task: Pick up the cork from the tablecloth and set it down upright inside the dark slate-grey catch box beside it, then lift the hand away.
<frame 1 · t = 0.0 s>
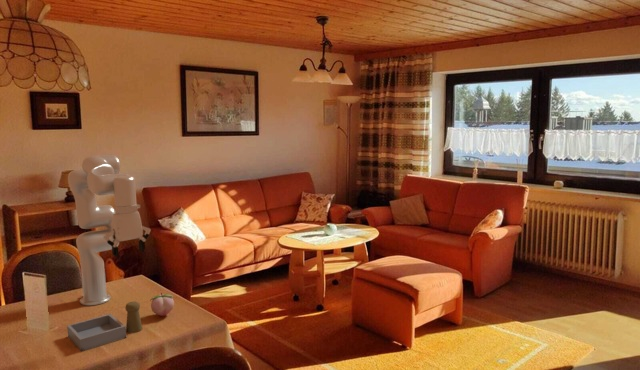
hand: (129, 254, 188), 31 cm above the table, tool pointing down, fingers open, 9 cm apart
cork: (134, 330, 196), on the table
decorative fruit: (162, 316, 209), on the table
catch box: (97, 337, 190), on the table
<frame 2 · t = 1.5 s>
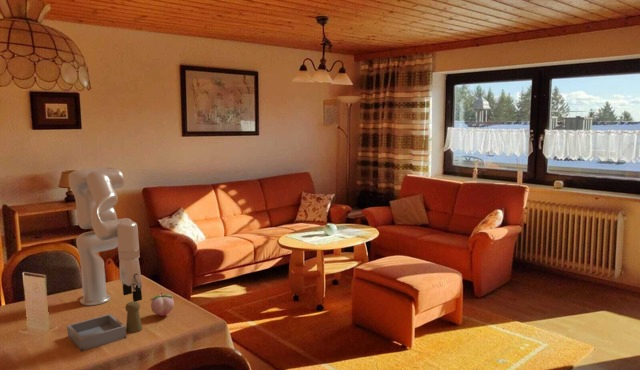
hand: (132, 297, 194), 13 cm above the table, tool pointing down, fingers open, 9 cm apart
nothing on the table moved.
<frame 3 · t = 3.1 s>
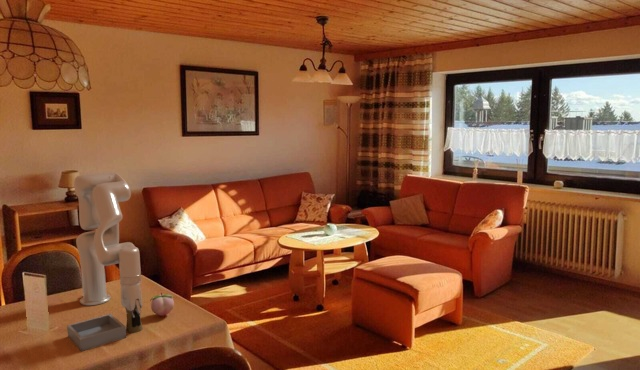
hand: (133, 323, 196), 2 cm above the table, tool pointing down, fingers closed on cork, 4 cm apart
cork: (134, 330, 196), on the table, touching gripper
everything else where it was.
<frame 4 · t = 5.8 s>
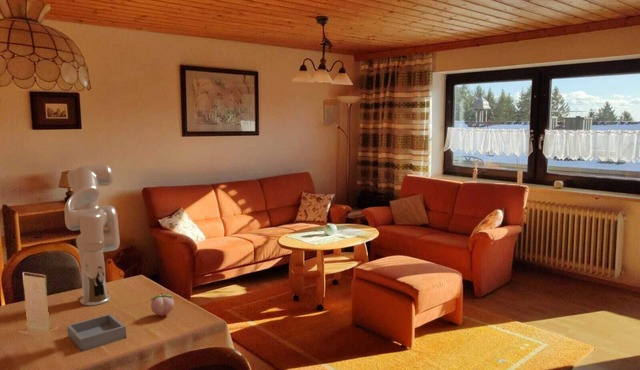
hand: (97, 293, 188), 17 cm above the table, tool pointing down, fingers closed on cork, 4 cm apart
cork: (97, 299, 188), point 15 cm above the table, touching gripper
everything else where it was.
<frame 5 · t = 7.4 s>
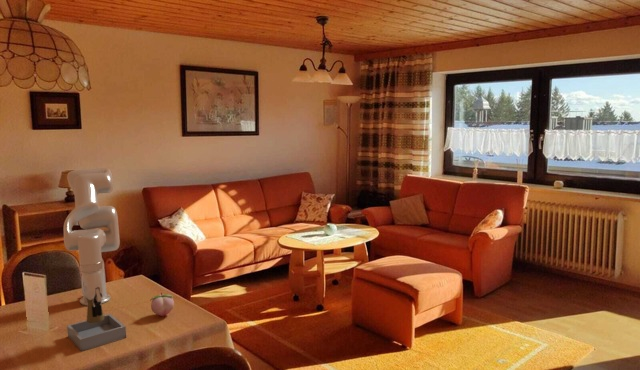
hand: (95, 313, 188), 9 cm above the table, tool pointing down, fingers closed on cork, 4 cm apart
cork: (95, 320, 189), point 7 cm above the table, touching gripper
everything else where it was.
when the fingers open (5 cm above the table, at t = 8.5 s): cork drops 2 cm, resting on catch box.
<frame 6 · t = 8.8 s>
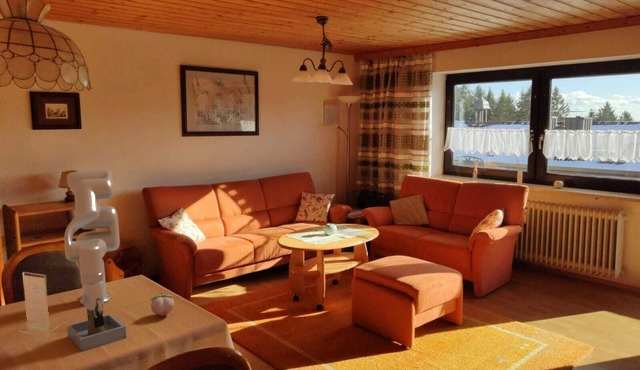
hand: (95, 322, 189), 6 cm above the table, tool pointing down, fingers open, 6 cm apart
cork: (96, 334, 190), point 1 cm above the table, touching catch box
everything else where it was.
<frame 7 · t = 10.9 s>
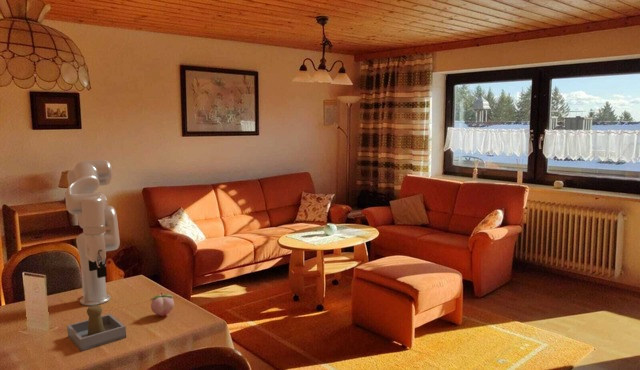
hand: (97, 273, 190), 24 cm above the table, tool pointing down, fingers open, 9 cm apart
nothing on the table moved.
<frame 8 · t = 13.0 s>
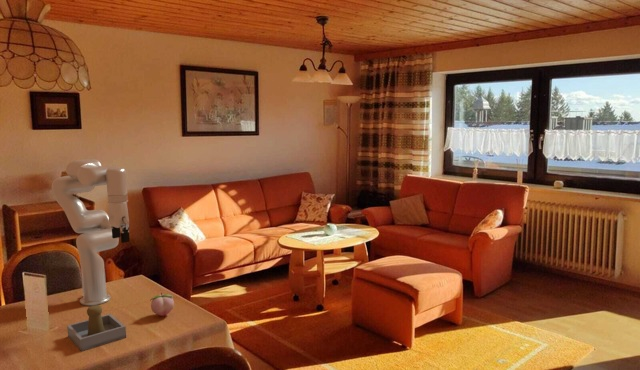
hand: (120, 239, 205), 32 cm above the table, tool pointing down, fingers open, 9 cm apart
nothing on the table moved.
at the end: cork inside the target area on the catch box (0.6 cm from its centre), point 0.8 cm above the catch box's base; cork tilted 0°; the gripper is holding nothing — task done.
